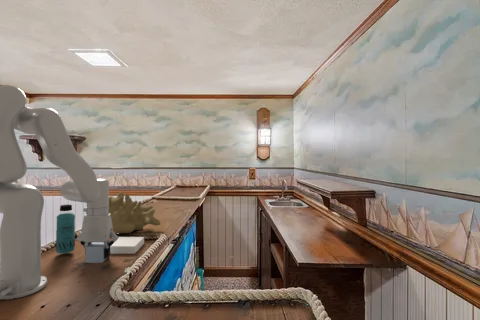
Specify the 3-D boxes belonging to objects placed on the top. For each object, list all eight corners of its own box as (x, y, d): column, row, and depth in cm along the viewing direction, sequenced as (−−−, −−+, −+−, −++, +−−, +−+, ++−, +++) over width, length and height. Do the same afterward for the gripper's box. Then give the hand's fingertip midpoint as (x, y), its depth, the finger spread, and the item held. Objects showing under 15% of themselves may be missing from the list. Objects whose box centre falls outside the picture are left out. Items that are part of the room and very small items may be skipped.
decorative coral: (81, 211, 131) (122, 177, 145) (104, 236, 145) (139, 203, 159) (111, 233, 118) (153, 193, 131) (133, 257, 132) (168, 219, 146)
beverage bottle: (52, 255, 106) (52, 205, 106) (69, 250, 112) (69, 202, 111) (61, 258, 103) (61, 207, 103) (78, 253, 109) (78, 204, 108)
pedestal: (134, 253, 110) (134, 246, 110) (104, 253, 109) (105, 246, 109) (144, 243, 122) (144, 237, 122) (117, 243, 121) (117, 236, 121)
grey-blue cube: (102, 262, 100) (102, 247, 100) (85, 262, 100) (85, 246, 100) (109, 256, 106) (109, 241, 106) (93, 256, 106) (93, 241, 106)
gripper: (69, 213, 99) (69, 261, 99) (116, 213, 99) (116, 261, 100) (80, 208, 106) (80, 253, 107) (124, 209, 107) (124, 253, 107)
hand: (97, 257), depth 103 cm, fingers closed on grey-blue cube, 6 cm apart
